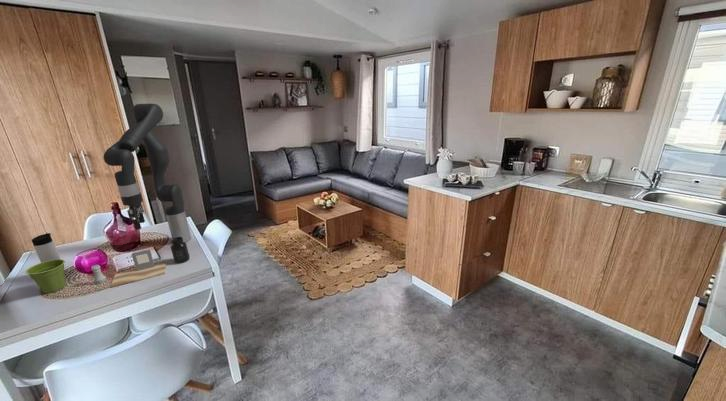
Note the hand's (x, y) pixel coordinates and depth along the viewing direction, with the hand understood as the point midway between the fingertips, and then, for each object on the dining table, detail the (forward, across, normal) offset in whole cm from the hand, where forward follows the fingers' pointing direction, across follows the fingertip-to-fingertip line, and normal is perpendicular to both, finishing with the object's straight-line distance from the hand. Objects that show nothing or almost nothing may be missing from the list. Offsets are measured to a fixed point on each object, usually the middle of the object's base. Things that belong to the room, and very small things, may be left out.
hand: (140, 225), depth 140 cm
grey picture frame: (+15, +5, -2) cm, 16 cm away
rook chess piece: (+21, +7, -18) cm, 29 cm away
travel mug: (+21, -11, -40) cm, 47 cm away
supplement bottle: (+21, +3, +13) cm, 25 cm away
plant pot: (+21, +4, -35) cm, 41 cm away
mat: (+20, +9, -3) cm, 23 cm away
